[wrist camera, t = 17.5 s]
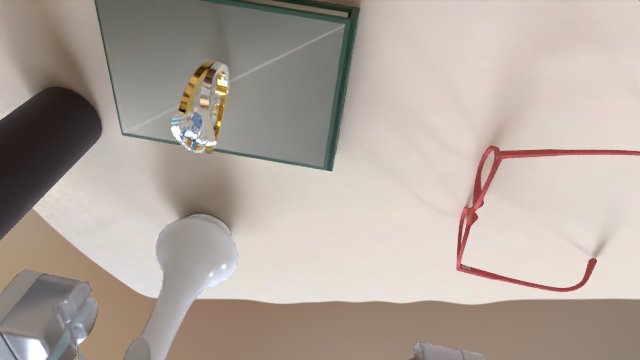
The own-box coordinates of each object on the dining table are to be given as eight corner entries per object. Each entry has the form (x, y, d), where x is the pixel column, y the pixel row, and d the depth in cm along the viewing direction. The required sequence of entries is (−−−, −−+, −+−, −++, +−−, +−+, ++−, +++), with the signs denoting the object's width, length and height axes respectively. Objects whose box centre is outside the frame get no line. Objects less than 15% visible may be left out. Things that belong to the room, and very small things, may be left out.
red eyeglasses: (487, 110, 38) (498, 142, 34) (680, 132, 37) (714, 167, 33) (441, 247, 49) (445, 283, 45) (589, 267, 48) (607, 305, 44)
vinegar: (116, 137, 45) (-30, 296, 30) (65, 149, 47) (-97, 304, 32) (76, 78, 41) (-116, 224, 26) (22, 93, 43) (-186, 238, 28)
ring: (209, 41, 34) (168, 86, 28) (249, 52, 34) (217, 100, 28) (202, 115, 38) (166, 169, 32) (238, 125, 39) (208, 181, 32)
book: (360, 8, 34) (357, 20, 32) (335, 153, 43) (332, 171, 40) (109, -32, 35) (89, -23, 32) (136, 119, 43) (121, 135, 41)
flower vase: (111, 199, 51) (-64, 423, 32) (259, 186, 47) (162, 436, 27) (158, 272, 59) (41, 490, 39) (289, 267, 54) (231, 508, 35)
